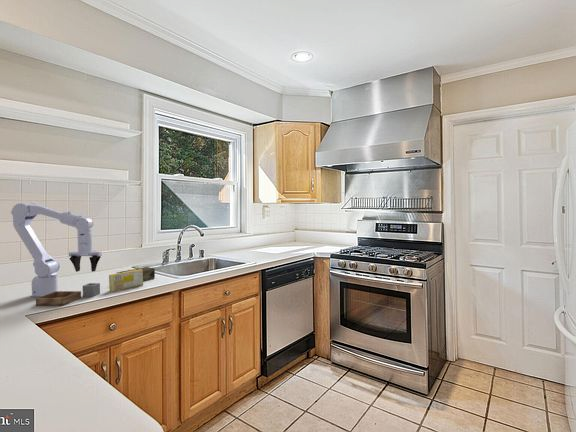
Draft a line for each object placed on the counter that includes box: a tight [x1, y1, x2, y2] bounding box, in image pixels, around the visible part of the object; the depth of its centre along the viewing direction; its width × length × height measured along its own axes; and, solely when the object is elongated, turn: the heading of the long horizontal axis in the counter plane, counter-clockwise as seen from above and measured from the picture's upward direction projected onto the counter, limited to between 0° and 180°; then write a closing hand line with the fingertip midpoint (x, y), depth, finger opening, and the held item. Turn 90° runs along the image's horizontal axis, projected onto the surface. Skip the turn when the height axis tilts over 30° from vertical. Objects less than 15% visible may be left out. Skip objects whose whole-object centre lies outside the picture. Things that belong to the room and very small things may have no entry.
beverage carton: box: [116, 266, 156, 282], centre depth 180 cm, size 8×19×7 cm, turn 151°
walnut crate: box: [35, 290, 82, 307], centre depth 142 cm, size 12×12×3 cm
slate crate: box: [82, 282, 101, 298], centre depth 152 cm, size 5×5×5 cm
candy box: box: [108, 269, 144, 292], centre depth 165 cm, size 16×2×8 cm, turn 141°
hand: (85, 271), depth 155 cm, fingers open, 7 cm apart
